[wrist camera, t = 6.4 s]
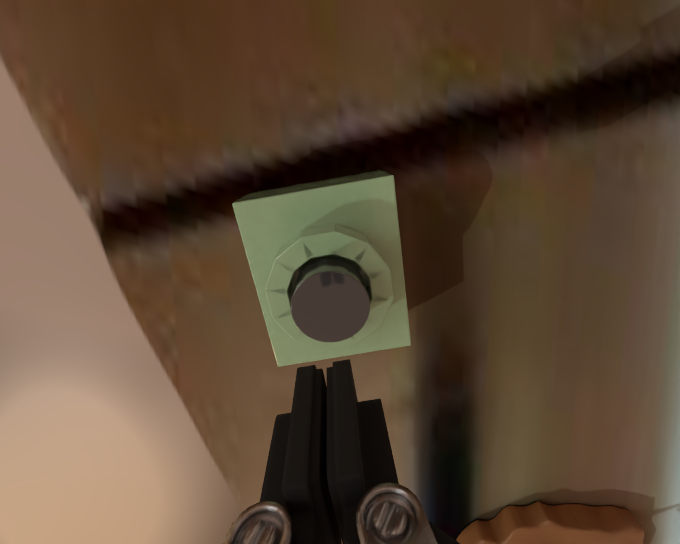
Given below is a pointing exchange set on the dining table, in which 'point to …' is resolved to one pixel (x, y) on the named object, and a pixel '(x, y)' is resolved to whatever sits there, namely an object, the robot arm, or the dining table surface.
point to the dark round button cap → (330, 300)
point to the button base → (327, 242)
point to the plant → (556, 526)
